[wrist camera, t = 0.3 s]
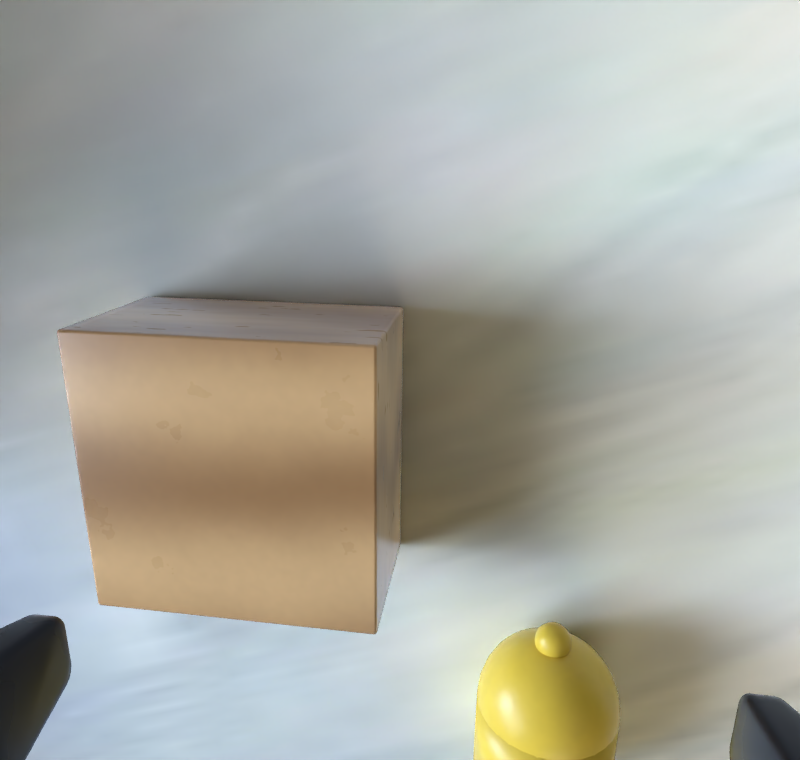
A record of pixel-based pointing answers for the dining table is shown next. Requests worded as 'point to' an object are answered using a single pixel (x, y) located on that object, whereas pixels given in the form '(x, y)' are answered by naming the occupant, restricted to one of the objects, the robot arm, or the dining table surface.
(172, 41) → the dining table surface
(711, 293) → the dining table surface
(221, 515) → the maple block
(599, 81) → the dining table surface
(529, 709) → the lemon
